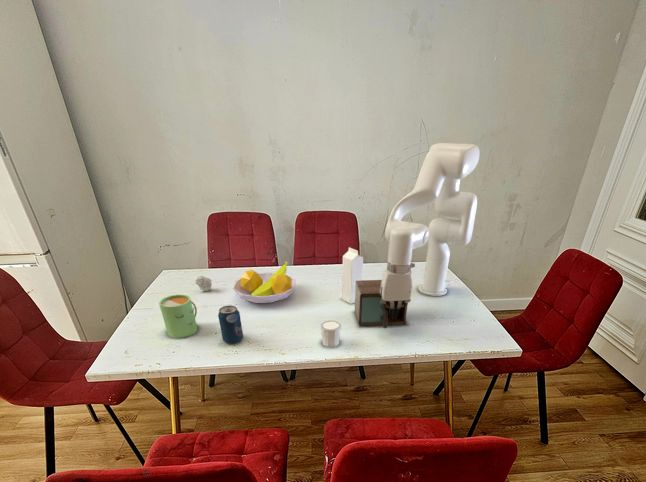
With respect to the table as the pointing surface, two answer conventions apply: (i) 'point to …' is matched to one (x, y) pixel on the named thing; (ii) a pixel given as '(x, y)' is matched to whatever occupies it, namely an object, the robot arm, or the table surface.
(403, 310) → the cabinet
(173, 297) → the mug
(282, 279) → the fruit bowl
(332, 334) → the shot glass
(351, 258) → the milk
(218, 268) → the table surface
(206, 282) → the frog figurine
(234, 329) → the soda can
